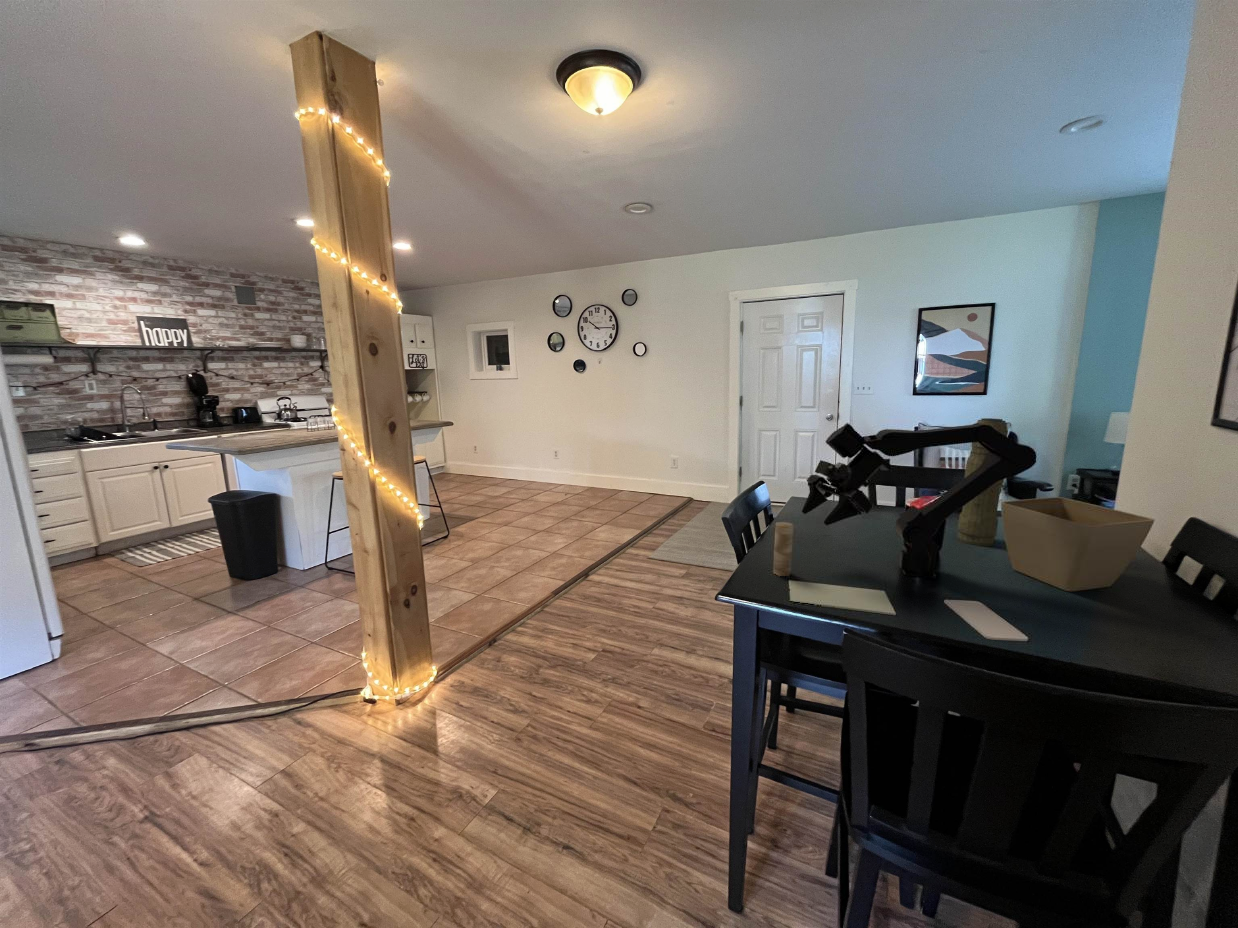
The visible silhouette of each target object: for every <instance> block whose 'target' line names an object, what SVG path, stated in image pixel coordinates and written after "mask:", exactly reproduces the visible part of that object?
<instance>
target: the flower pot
mask: <svg viewBox="0 0 1238 928" xmlns="http://www.w3.org/2000/svg"><path fill="white" fill-rule="evenodd" d="M1000 510H1001V511H1000V512H1001V513H1000V514H1001V523H1002V524H1001V525H1002V529H1003V536H1004V541H1005V546H1006V549H1007V553H1008V557H1009V561H1010V564H1011V566H1012V569H1013V570H1014V571H1016V572H1018V573H1021V574H1024V575H1026V576H1029V577H1031V578H1033V579H1035V580H1038V581H1041V582H1043V583H1045V584H1048V585H1051V586H1053V587H1055V588H1058V589H1061V590H1062V591H1067V592H1078V591H1087V590H1095V589H1101V588H1108V587H1111V586H1112V585H1113V584H1114V583H1115V582H1116V581H1117V580H1118V579H1119V577H1120V576H1121V575H1122V573H1123V572H1124V571H1125V570H1126V568H1127V567H1128V566H1129V565H1130V563H1131V562H1132V560H1133V559H1134V558H1135V556H1137V553H1138V552H1139V550H1140V549H1141V547H1142V545H1143V544H1144V542H1145V541H1146V539H1147V537H1148V534H1149V533H1150V531H1151V529H1152V527H1153V525H1154V522H1155V519H1154V518H1152V517H1147V516H1144V515H1143V516H1142V515H1138V514H1134V513H1130V512H1127V511H1122V510H1118V509H1114V508H1110V507H1105V506H1101V505H1096V504H1094V503H1093V504H1091V503H1088V502H1083V501H1079V500H1075V499H1072V498H1071V499H1070V498H1065V497H1060V496H1052V497H1041V498H1029V499H1018V500H1017V499H1016V500H1015V499H1014V500H1006V501H1001V502H1000Z"/></svg>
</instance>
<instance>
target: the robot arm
mask: <svg viewBox="0 0 1238 928" xmlns="http://www.w3.org/2000/svg"><path fill="white" fill-rule="evenodd" d="M973 442H978V443H979V444H980V445H981V446H982V447H984V448H985V449H986V450H988V451H989V453H988V454H987V456H986V457H985V459H984V460H983V462H982V464H981V466H980V467H979V468H978V469H976V470H975V471H974V472H972V473H971V474H970V475H968V476H967V477H966V478H965V477H963V479H961V480H960V481H959V482H958V483H956V484H955V485H953V486H951V488H950V489H948V490H946V491H945V492H944V493H943V494H941V495H939V496H938V497H937V498H936V499H934V500H933V501H932V502H931V503H929V504H927V505H926V506H923V507H921V508H917V506H915V505H914V504H913V505H911V506H910V507H908V509H907V510H906V511H904V512H903V513H900V514H898V516H899V518H897V520H896V522H895V530H896V532H897V534H898V535H899V536H900V537H901V538H902V540H903V542H904V544H903V546H902V549H900V551H899V558H898V566H899V568H900V569H901V570H902V572H903V574H904V575H906V576H911V577H913V576H914V577H923V578H932V579H935V578H937V574H935V563H936V555H937V554H938V552H939V550H940V549H941V546H940V545H939V544H938V543H937V542H936V541H935V540H934V539H933V538H932V537H933V536H934V535H935V534H936V533H937V531H938V529H939V528H940V527H941V525H942V523H943V522H944V521H945V520H946V519H948V518H949V517H951V516H952V515H954V513H956V512H958V511H959V510H961V508H963V506H964V505H966V504H967V503H968V502H970V501H971V500H973V499H974V498H975V497H977V496H978V495H980V494H981V493H982V492H984V491H985V490H987V489H988V488H989V487H991V486H992V485H993V484H995V483H996V482H998V481H1000V480H1003V479H1004V480H1007V479H1010V478H1012V477H1015V476H1018V475H1019V474H1021V473H1024V472H1026V471H1028V470H1030V469H1031V468H1032V467H1034V466H1035V465H1036V463H1037V452H1036V451H1035V449H1034V448H1032V447H1031V446H1029V445H1026V444H1022V443H1018V442H1016V441H1014V440H1013V439H1011V438H1009V437H1008V436H1007V437H1006V436H1004V435H1003V434H1001V433H999V432H998V431H997V430H995V429H994V428H993V427H992V426H990V425H987V424H983V423H977V422H976V423H973V424H967V425H957V426H949V427H940V428H938V427H937V428H932V429H922V430H908V429H894V428H893V429H892V428H889V429H888V428H885V429H882V430H879V431H878V432H877V433H876V434H872V435H864V436H862V435H861V434H860V433H858V432H857V430H856V429H854V427H853V426H852V425H851V424H850V423H848V422H846V423H845V424H843V426H841V427H839V428H838V429H837V430H834V431H833V432H832V433H831V434H830V435H829V436H828V437H827V438H826V440H825V443H826V445H828V447H830V448H831V449H832V451H835V453H836V454H837V455H838V456H840V457H841V458H842V459H845V458H849V459H851V460H850V461H849V463H847V464H845V463H842V462H837V463H836V464H835V463H831V462H828V461H825V460H822V459H820V460H819V462H818V464H817V466H816V468H815V471H814V473H816V474H811V475H810V476H808V478H807V479H806V482H807V486H808V488H809V489H808V490H809V493H808V496H807V498H806V500H805V503H804V505H803V507H802V510H801V512H802V514H803V515H807V514H808V513H810V512H812V511H813V510H815V509H816V508H818V507H819V506H820V505H822V504H824V503H825V502H827V501H828V498H830V497H832V496H833V495H834V496H836V497H838V502H837V505H835V506H834V508H833V509H832V511H831V512H830V513H829V514H828V515H827V516H826V518H825V520H824V521H823V524H824V525H825V526H830V525H832V524H835V523H838V522H840V521H843V520H846V519H849V518H852V517H855V516H862V514H865V515H868V514H869V513H870V512H871V511H872V510H873V508H874V503H873V502H872V501H871V499H870V498H869V497H868V496H867V495H866V494H865V492H864V491H863V490H861V487H864V488H867V487H868V486H869V483H868V482H867V481H868V480H870V478H871V477H872V476H873V475H874V474H875V473H876V472H877V471H878V470H879V469H880V470H881V471H889V470H890V471H891V470H892V465H891V459H890V458H884V457H883V456H882V455H881V454H880V453H878V452H877V451H879V452H881V453H882V454H883V455H885V456H886V457H897V456H901V455H905V454H909V453H911V452H914V451H916V450H920V449H923V448H932V447H941V446H942V447H943V446H950V445H951V446H952V445H963V444H972V443H973ZM869 448H870V449H871V450H870V449H869ZM872 450H873V451H872ZM818 474H820V475H823V476H825V477H826V479H825V477H823V476H820V475H818ZM905 543H906V544H905Z"/></svg>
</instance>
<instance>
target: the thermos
mask: <svg viewBox="0 0 1238 928" xmlns="http://www.w3.org/2000/svg"><path fill="white" fill-rule="evenodd" d="M976 423H983V424H987V425H990V426H992V427H993V428H994V429H995V430H997V431H998V432H999V433H1001V434H1003V435H1004V436H1006V437H1008V433H1009V430H1008V426H1007V422H1006V420H1003V418H993V417H992V418H987V417H986V418H983V417H982V418H981V419H978V420H977V421H976ZM970 444H971V445H970V446H971V450H970V453H969V456H968V458H967V460H966V463H965V470H964V478H966V477H967V476H968V475H970V474H971V473H972V472H974V471H975V470H976V469H978V468H979V467H980V466H981V464H982V462H983V460H984V459H985V457H986V456H987V454H988V453H989V451H988V450H986V449H985V448H984V447H982V446H981V445H980V444H979V443H978V442H973V443H970ZM1004 480H1005V479H1003V480H1000V481H998V482H996V483H995V484H993V485H992V486H991V487H989V488H988V489H987V490H985V491H984V492H982V493H981V494H980V495H978V496H977V497H975V498H974V499H973V500H971V501H970V502H968V503H967V504H966V505H964V506H963V507H962V511H961V512H960V514H959V516H958V524H957V536H956V539H957V540H958V541H960V542H961V543H965V544H968V545H972V546H978V547H991V546H992V547H993V546H994V545H995V540H996V539H995V538H996V537H997V531H998V525H999V520H998V515H997V514H998V506H999V500H1000V493H1001V487H1002V486H1003V484H1004V482H1005V481H1004Z"/></svg>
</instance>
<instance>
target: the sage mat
mask: <svg viewBox="0 0 1238 928" xmlns="http://www.w3.org/2000/svg"><path fill="white" fill-rule="evenodd" d="M788 588H789V589H790V591H789V602H790V601H793V602H800V603H799V604H801V603H809V604H814V605H813V606H817V605H819V606H818V607H825V608H826V607H827V608H833V607H834V609H842V610H850V611H859V612H865V613H874V614H875V613H876V614H881V615H889V616H891V615H892V616H896V614H897V613H896V611H895V609H894V607H893V605H892V603H891V602H890V599H889V597H888V595H887V594H886V591H885V590H878V589H870V588H860V587H852V586H843V585H833V584H826V583H817V582H816V583H815V582H808V581H801V580H799V581H797V580H788ZM793 602H792V603H793ZM809 604H808V605H809ZM820 605H821V606H820Z"/></svg>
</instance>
